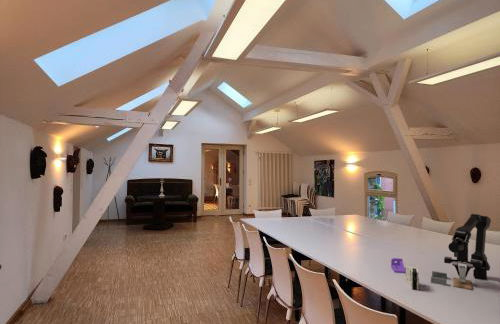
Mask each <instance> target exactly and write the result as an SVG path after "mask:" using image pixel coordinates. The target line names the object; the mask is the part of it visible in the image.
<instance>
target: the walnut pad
mask: <svg viewBox="0 0 500 324" xmlns="http://www.w3.org/2000/svg"><path fill="white" fill-rule="evenodd" d="M452 285H453V286H452V287H453V288H457V289H463V290H468V291H469V290H470V291H472V290H473V286H472V280H471V279H466V282H460V281H459V277H458V278H457V277H453V284H452Z"/></svg>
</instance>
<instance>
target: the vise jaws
mask: <svg viewBox="0 0 500 324" xmlns="http://www.w3.org/2000/svg"><path fill="white" fill-rule="evenodd" d="M431 274H432V275H431V277H430V283H431V284H435V285H441V286H447V279H448V273H447V272H443V271H442V272H441V271H435V270H432V272H431ZM437 277H438V278H437Z"/></svg>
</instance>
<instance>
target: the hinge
mask: <svg viewBox="0 0 500 324" xmlns="http://www.w3.org/2000/svg"><path fill="white" fill-rule="evenodd" d="M405 271H406V274H405V283H408V284H409V285H410V287H411V288H410V289H411V290H412V291H414V290H415V291H419V282H420V277H419V269H418V268H417V267H415V266H410V265H405Z"/></svg>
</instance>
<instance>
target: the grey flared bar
mask: <svg viewBox="0 0 500 324" xmlns="http://www.w3.org/2000/svg"><path fill="white" fill-rule="evenodd" d="M458 267H459V276H458V278H459V281H460V282H466V280H467V279H466V277H465V274H466V266H465V265H458Z"/></svg>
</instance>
